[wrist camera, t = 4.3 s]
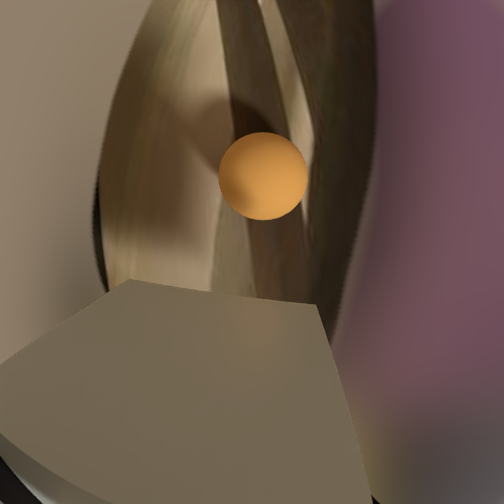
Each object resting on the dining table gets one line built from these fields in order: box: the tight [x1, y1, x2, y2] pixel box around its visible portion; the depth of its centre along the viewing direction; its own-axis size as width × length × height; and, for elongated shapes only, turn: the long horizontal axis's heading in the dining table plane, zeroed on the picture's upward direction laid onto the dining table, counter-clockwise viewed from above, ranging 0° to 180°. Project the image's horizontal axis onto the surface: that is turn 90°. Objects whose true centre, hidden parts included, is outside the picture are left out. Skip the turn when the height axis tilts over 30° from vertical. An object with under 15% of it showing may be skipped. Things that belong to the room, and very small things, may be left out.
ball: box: [218, 132, 308, 220], centre depth 15 cm, size 5×5×5 cm
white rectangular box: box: [0, 279, 373, 504], centre depth 7 cm, size 8×8×9 cm
